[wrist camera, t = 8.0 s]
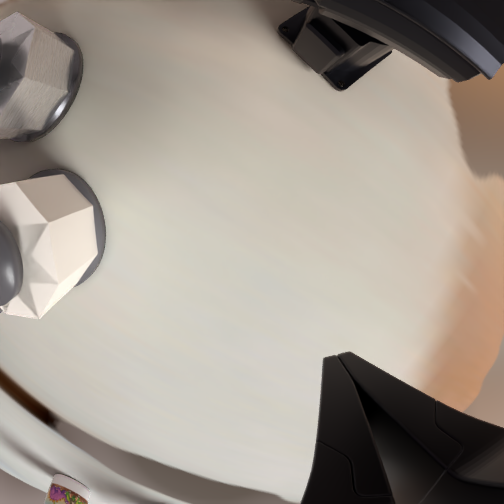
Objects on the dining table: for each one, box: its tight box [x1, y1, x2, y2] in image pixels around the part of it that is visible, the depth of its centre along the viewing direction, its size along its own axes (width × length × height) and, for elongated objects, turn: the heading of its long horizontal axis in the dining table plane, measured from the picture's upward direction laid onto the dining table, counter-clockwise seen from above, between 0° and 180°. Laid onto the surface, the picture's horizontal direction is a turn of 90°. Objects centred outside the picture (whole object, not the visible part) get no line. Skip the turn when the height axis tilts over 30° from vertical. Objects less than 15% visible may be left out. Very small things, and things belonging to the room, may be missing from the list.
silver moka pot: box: [0, 12, 83, 142], centre depth 12 cm, size 12×9×6 cm
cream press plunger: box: [0, 221, 23, 306], centre depth 14 cm, size 5×5×6 cm
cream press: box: [0, 169, 106, 319], centre depth 16 cm, size 12×9×6 cm
